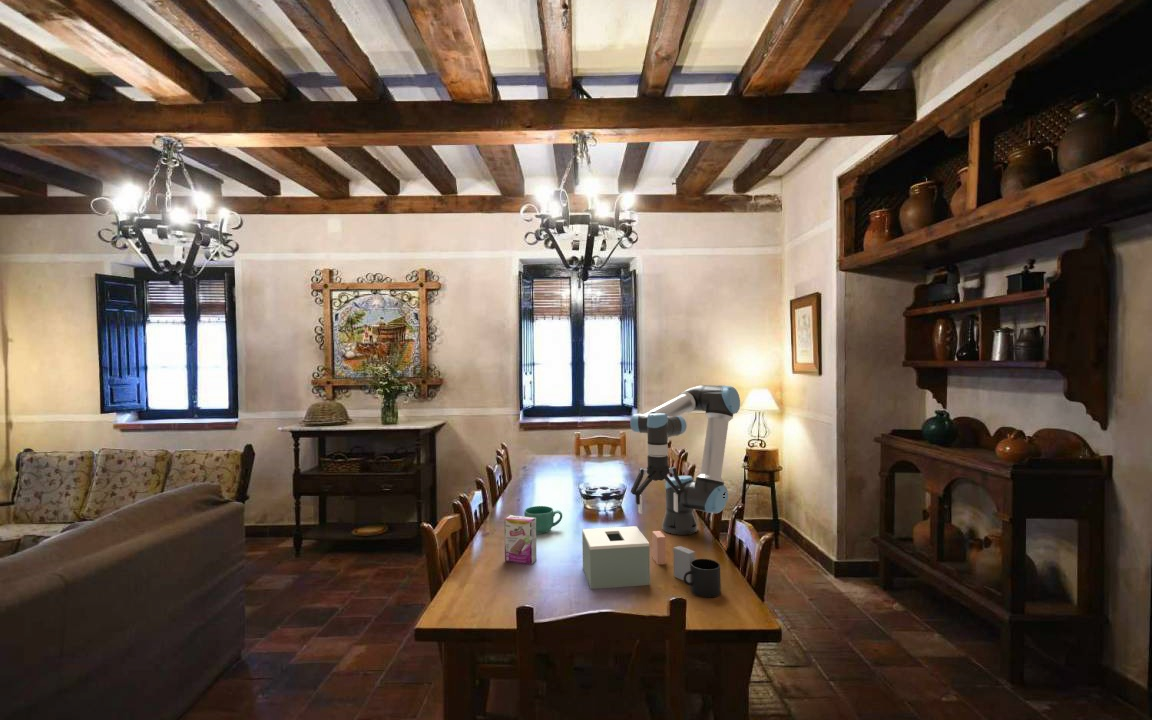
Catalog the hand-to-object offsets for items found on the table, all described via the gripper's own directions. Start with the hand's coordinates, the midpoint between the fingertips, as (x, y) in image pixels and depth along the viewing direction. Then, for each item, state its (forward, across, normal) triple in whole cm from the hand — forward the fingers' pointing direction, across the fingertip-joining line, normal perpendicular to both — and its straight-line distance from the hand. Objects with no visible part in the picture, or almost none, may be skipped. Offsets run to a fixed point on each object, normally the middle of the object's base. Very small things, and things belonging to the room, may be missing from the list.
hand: (658, 512), depth 202 cm
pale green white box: (+18, +19, +11) cm, 28 cm away
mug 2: (+18, -6, +28) cm, 34 cm away
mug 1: (+18, +40, -41) cm, 60 cm away
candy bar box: (+19, +51, -8) cm, 55 cm away
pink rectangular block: (+18, 0, 0) cm, 18 cm away
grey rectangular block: (+18, -4, +17) cm, 25 cm away
